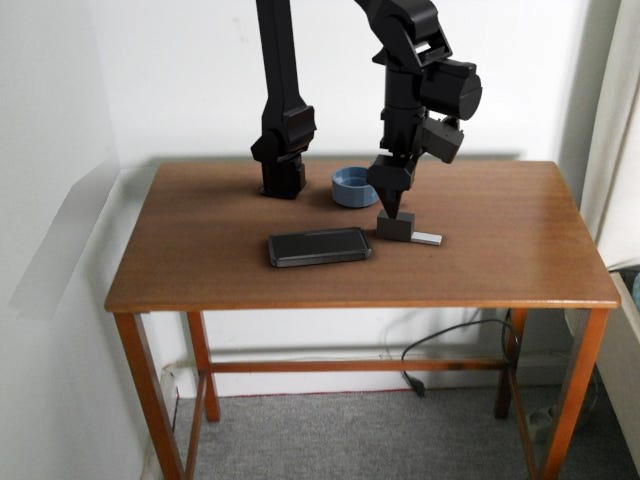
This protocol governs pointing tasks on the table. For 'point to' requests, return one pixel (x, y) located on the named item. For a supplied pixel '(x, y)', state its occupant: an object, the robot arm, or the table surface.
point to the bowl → (352, 187)
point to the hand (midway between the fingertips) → (399, 203)
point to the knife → (402, 229)
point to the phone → (318, 246)
